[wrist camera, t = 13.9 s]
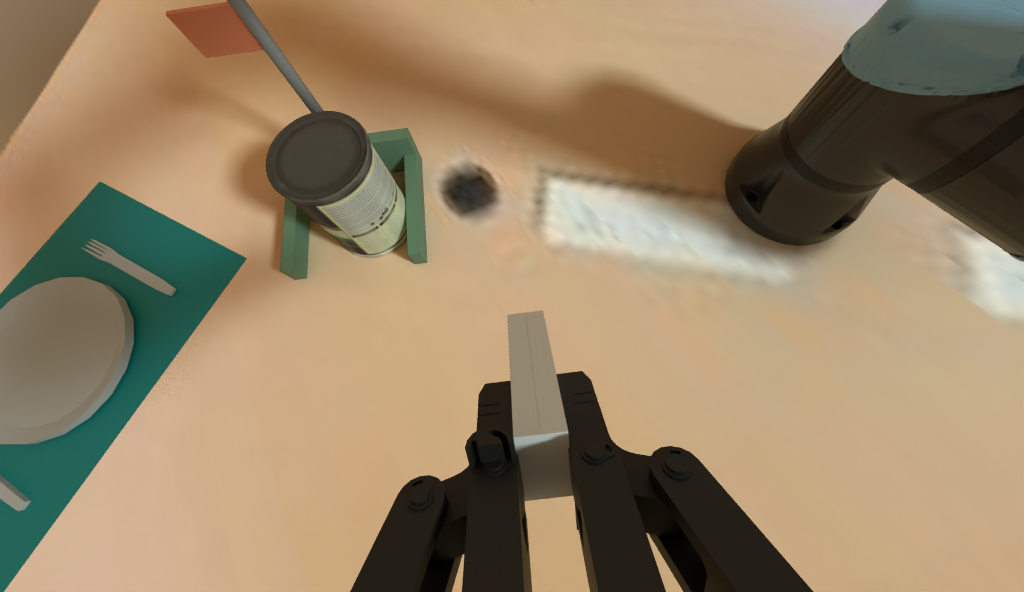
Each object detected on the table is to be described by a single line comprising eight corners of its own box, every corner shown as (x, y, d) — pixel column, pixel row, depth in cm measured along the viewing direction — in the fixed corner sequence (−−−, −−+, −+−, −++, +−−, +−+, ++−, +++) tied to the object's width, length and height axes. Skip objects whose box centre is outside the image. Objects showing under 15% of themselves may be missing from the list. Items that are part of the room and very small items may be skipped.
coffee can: (332, 259, 50) (255, 202, 36) (342, 189, 53) (275, 112, 39) (410, 257, 49) (362, 199, 36) (417, 186, 52) (374, 107, 39)
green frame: (427, 262, 49) (329, 128, 26) (295, 279, 49) (84, 162, 26) (421, 158, 53) (334, -34, 30) (301, 175, 54) (125, -2, 31)
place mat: (105, 174, 57) (88, 165, 55) (264, 257, 51) (252, 250, 49) (-155, 469, 47) (-189, 472, 44) (9, 613, 41) (-21, 624, 39)
